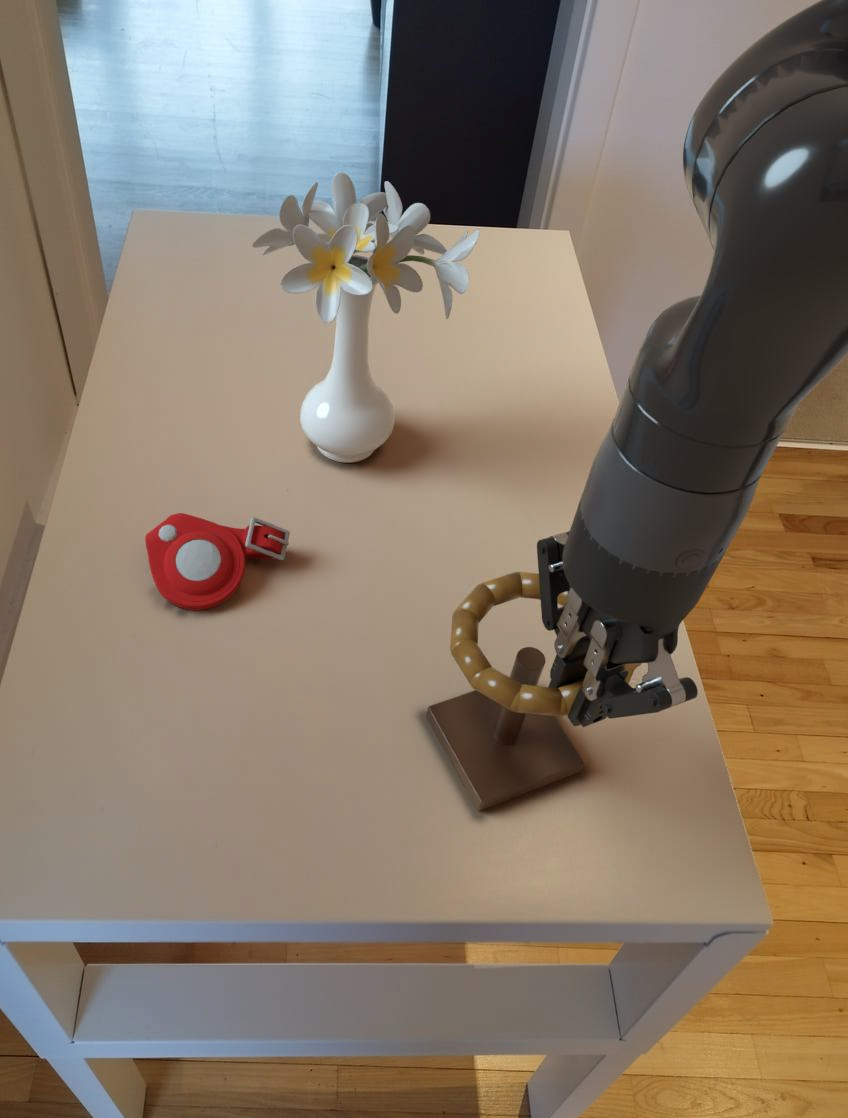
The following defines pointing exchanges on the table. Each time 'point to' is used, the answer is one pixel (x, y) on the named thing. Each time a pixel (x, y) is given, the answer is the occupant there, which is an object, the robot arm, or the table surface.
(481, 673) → the ring
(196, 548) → the tracker holder
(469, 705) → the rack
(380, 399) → the flower vase
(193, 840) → the table surface
